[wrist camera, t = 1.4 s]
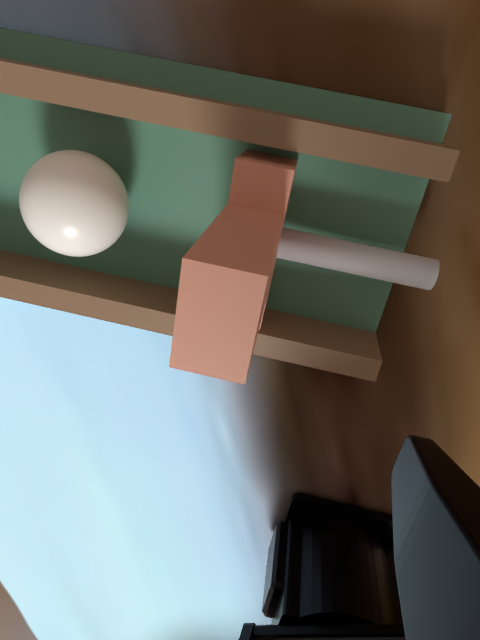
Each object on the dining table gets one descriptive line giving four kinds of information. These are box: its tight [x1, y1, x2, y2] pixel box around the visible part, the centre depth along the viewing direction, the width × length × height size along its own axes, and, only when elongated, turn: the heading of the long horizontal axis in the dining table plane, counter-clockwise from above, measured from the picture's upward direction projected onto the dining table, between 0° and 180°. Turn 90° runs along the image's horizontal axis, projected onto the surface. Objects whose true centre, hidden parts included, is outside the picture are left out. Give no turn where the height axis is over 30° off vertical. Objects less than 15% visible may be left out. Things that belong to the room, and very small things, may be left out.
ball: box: [19, 150, 129, 257], centre depth 18 cm, size 4×4×4 cm
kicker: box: [169, 149, 440, 384], centre depth 15 cm, size 8×6×9 cm
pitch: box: [0, 28, 460, 382], centre depth 17 cm, size 24×11×7 cm, turn 80°
